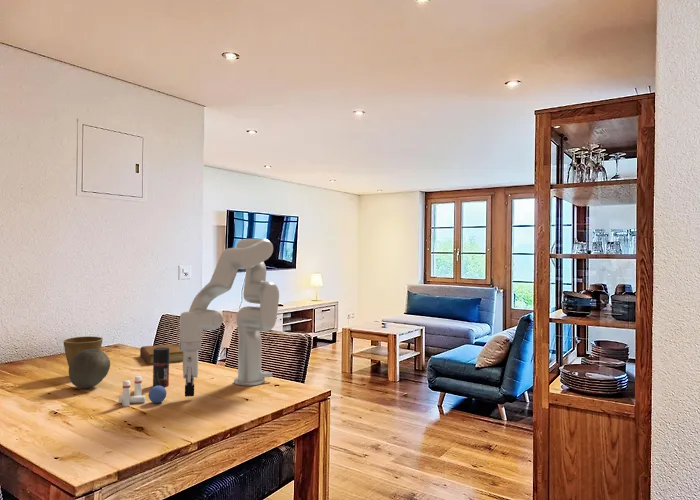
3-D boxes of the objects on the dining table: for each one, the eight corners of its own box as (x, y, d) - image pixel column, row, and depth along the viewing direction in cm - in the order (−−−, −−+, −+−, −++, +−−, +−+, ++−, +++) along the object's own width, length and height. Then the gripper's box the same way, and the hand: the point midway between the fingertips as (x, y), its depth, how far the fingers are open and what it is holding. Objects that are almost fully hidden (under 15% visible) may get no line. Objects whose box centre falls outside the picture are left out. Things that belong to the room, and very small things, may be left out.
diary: (140, 357, 251) (140, 346, 251) (177, 354, 261) (177, 343, 261) (148, 366, 232) (148, 354, 232) (188, 362, 242) (188, 350, 242)
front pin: (145, 395, 175) (120, 396, 174) (144, 395, 173) (118, 396, 172) (145, 402, 174) (120, 403, 173) (143, 402, 172) (118, 403, 171)
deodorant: (163, 388, 192) (163, 350, 192) (149, 387, 193) (150, 349, 193) (171, 384, 198) (172, 347, 198) (158, 383, 199) (159, 347, 199)
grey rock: (81, 394, 182) (81, 354, 182) (61, 388, 190) (62, 350, 190) (116, 386, 194) (117, 348, 194) (96, 381, 202) (97, 345, 202)
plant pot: (54, 378, 205) (55, 340, 205) (85, 370, 219) (86, 335, 219) (79, 382, 200) (80, 343, 200) (109, 374, 213) (110, 337, 214)
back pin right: (142, 399, 178) (142, 375, 178) (141, 401, 175) (141, 377, 175) (134, 399, 177) (135, 376, 177) (133, 401, 174) (133, 377, 175)
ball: (146, 395, 175) (162, 401, 177) (144, 402, 170) (161, 408, 172) (153, 380, 176) (169, 386, 178) (152, 387, 170) (169, 392, 172)
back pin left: (130, 404, 171) (131, 380, 172) (129, 406, 169) (129, 381, 169) (122, 404, 171) (123, 380, 171) (121, 406, 168) (122, 382, 168)
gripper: (200, 349, 172) (199, 401, 171) (201, 341, 186) (200, 389, 186) (178, 349, 170) (177, 402, 169) (180, 342, 184) (180, 390, 184)
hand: (189, 395), depth 178 cm, fingers closed
